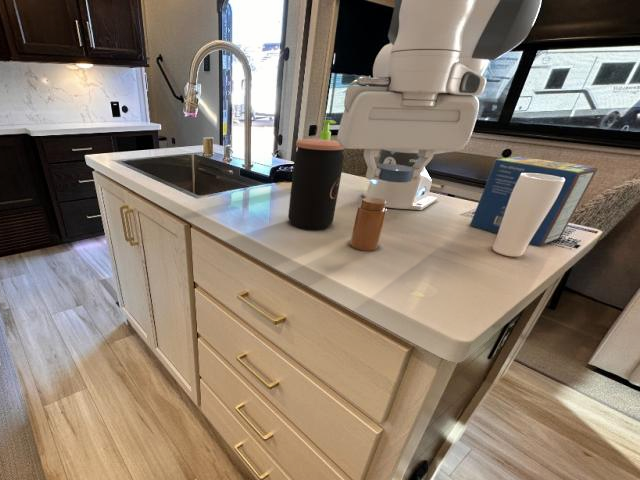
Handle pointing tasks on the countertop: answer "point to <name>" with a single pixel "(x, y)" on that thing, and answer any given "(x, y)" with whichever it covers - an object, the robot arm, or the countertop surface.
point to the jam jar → (368, 224)
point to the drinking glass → (526, 211)
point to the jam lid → (395, 173)
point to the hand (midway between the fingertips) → (392, 179)
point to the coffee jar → (315, 183)
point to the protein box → (503, 185)
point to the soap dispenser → (326, 130)
